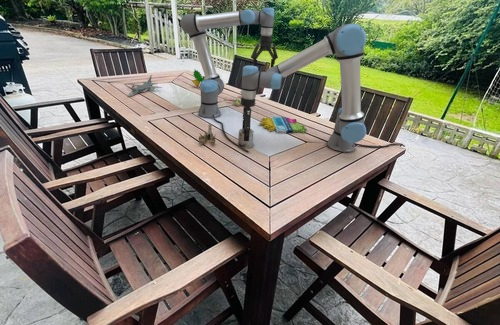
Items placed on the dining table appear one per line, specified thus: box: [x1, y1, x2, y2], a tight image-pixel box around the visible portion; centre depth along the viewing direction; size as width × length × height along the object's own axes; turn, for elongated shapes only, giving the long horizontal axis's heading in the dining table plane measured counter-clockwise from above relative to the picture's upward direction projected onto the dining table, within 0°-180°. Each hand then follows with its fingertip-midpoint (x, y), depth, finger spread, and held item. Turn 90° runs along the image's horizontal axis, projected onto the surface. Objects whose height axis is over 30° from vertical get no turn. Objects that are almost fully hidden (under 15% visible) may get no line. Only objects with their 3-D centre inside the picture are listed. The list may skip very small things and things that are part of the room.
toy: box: [223, 95, 257, 106], centre depth 219 cm, size 28×7×30 cm
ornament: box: [191, 69, 205, 89], centre depth 252 cm, size 21×8×15 cm, turn 105°
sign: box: [259, 116, 307, 134], centre depth 176 cm, size 26×2×30 cm
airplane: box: [126, 74, 163, 98], centre depth 227 cm, size 38×31×10 cm
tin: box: [237, 128, 255, 149], centre depth 145 cm, size 8×8×8 cm
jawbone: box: [198, 123, 217, 146], centre depth 145 cm, size 9×15×10 cm
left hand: (263, 69), depth 179 cm, fingers open, 13 cm apart
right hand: (245, 135), depth 144 cm, fingers open, 13 cm apart
